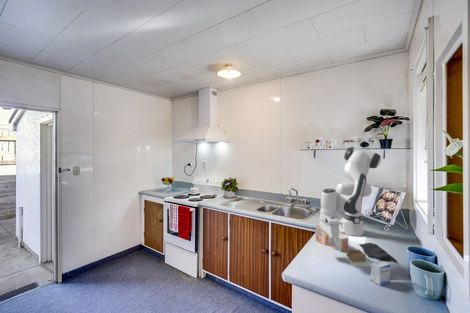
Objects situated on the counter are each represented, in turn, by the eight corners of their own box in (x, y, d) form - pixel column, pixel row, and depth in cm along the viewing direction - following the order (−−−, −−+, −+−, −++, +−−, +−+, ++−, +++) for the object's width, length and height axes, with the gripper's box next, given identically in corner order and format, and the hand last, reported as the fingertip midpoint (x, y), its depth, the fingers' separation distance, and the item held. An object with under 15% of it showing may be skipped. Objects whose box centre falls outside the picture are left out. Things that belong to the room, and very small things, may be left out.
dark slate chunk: (379, 247, 144) (380, 240, 144) (399, 264, 123) (399, 256, 123) (355, 245, 147) (355, 238, 147) (369, 262, 125) (369, 254, 125)
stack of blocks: (348, 252, 136) (348, 232, 136) (341, 254, 134) (341, 234, 134) (322, 239, 156) (322, 222, 156) (315, 240, 153) (315, 223, 153)
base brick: (346, 255, 130) (347, 249, 129) (358, 256, 129) (358, 249, 129) (353, 261, 123) (353, 254, 122) (365, 262, 122) (365, 254, 122)
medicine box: (379, 285, 102) (380, 267, 102) (370, 280, 106) (370, 263, 106) (390, 282, 106) (390, 264, 105) (380, 277, 110) (381, 260, 109)
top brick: (321, 241, 131) (321, 232, 131) (330, 242, 131) (330, 232, 131) (324, 245, 126) (325, 235, 126) (333, 245, 126) (333, 235, 126)
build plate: (339, 253, 134) (339, 252, 134) (358, 254, 134) (358, 252, 134) (352, 267, 118) (352, 265, 118) (375, 268, 118) (375, 266, 118)
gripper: (316, 211, 139) (316, 232, 139) (329, 222, 118) (329, 247, 119) (326, 211, 138) (326, 233, 139) (341, 222, 118) (340, 247, 119)
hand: (327, 239), depth 129 cm, fingers closed on top brick, 5 cm apart
